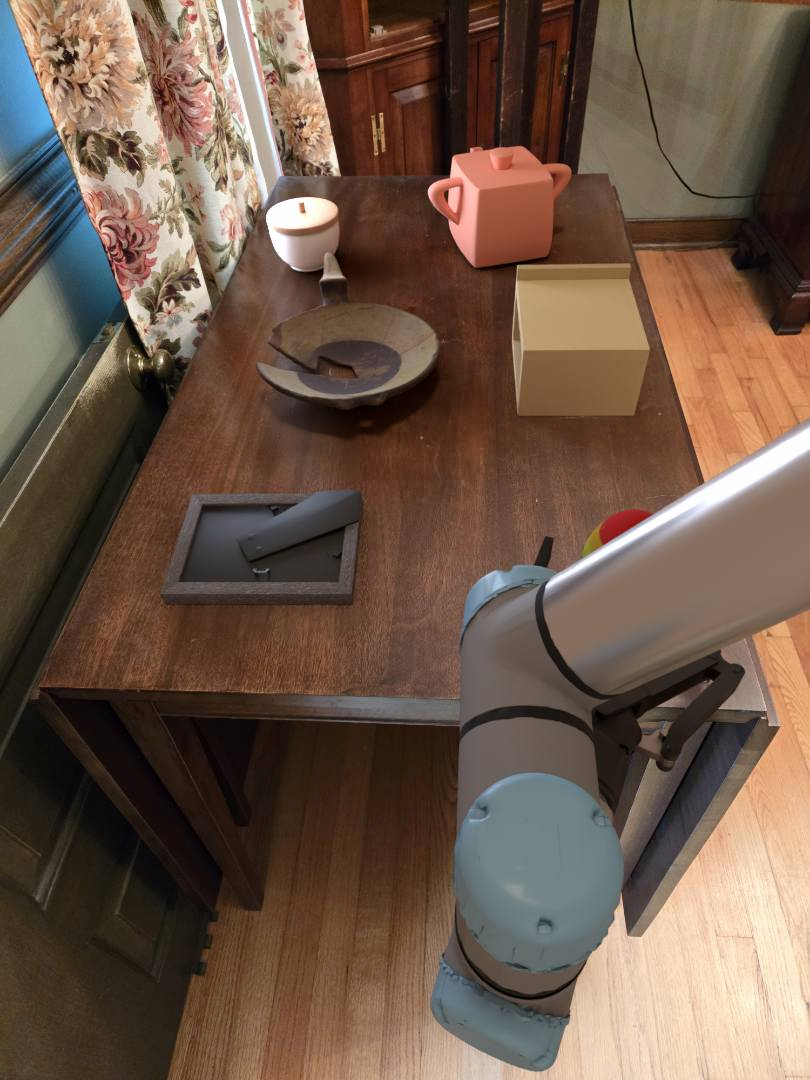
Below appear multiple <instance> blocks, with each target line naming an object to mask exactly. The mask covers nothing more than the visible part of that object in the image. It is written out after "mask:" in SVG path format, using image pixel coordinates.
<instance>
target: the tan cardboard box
mask: <svg viewBox="0 0 810 1080" xmlns="http://www.w3.org/2000/svg"><path fill="white" fill-rule="evenodd" d="M631 271H632V265H631V263H629V262H628V263H627V262H626V263H574V264H573V263H567V264H560V263H559V264H558V263H557V264H518V265H516V279H515V291H514V304H513V316H512V331H511V332H512V333H511V349H512V360H513V361H512V363H513V374H514V388H515V399H516V412H517V414H516V415H517V417H635V415H636V410H637V406H638V401H639V397H640V393H641V389H642V385H643V381H644V377H645V372H646V369H647V365H648V361H649V356H650V355H649V354H650V352H651V347H650V344H649V341H648V338H647V335H646V332H645V329H644V324H643V320H642V318H641V315H640V311H639V308H638V304H637V301H636V298H635V295H634V292H633V288H632V284H631V282H630V277H631Z"/></svg>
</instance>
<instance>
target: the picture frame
mask: <svg viewBox="0 0 810 1080" xmlns="http://www.w3.org/2000/svg"><path fill="white" fill-rule="evenodd" d="M362 492H363V491H362V489H327V490H326V489H321V490H319V491H318V492H315V493H314V492H313V493H312V492H307V493H300V492H299V493H297V492H296V493H295V492H294V493H192V495H191V497H190V501H189V504H188V507H187V510H186V513H185V516H184V519H183V522H182V524H181V528H180V531H179V535H178V538H177V540H176V544H175V547H174V550H173V553H172V556H171V559H170V562H169V565H168V568H167V571H166V575H165V577H164V578H165V579H164V581H163V584H162V587H161V590H160V593H159V595H160V597H161V599H162V601H163V603H164V605H354V599H355V598H354V597H355V587H356V580H357V579H356V578H357V569H358V558H359V550H360V549H359V548H360V538H361V528H362V520H363V519H362V518H363V509H364V498H363V493H362Z"/></svg>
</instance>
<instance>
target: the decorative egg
mask: <svg viewBox="0 0 810 1080" xmlns="http://www.w3.org/2000/svg"><path fill="white" fill-rule="evenodd" d="M653 514H654V513H652V512H650V511H648V510H644V509H636V508H635V509H633V508H632V509H626V510H622V511H619V512H616V513H613V514H611V515H610V516H608V517H607V518H605V519H604V520H603V521H601V523H600V524H599V525H598V526H597V527H596V528H594V530H593V531H592V533H590V535H589V537H588V539H587V541H586V543H585V544H584V547H583V550H582V553H581V558H580V560H581V559H582V558H584V557H585V556H587V555H589V554H590V553H592V552H594V551H595V550H597V549H598V548H600V547H602V546H603V545H605V544H606V543H608V542H610V541H611V540H613V539H614V538H616V537H618V536H619V535H621V534H623V533H624V532H626V531H627V530H629V529H631V528H632V527H634V526H635V525H637V524H639V523H640V522H642V521H644V520H645V519H647V518H648V517H650V516H652V515H653Z"/></svg>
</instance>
